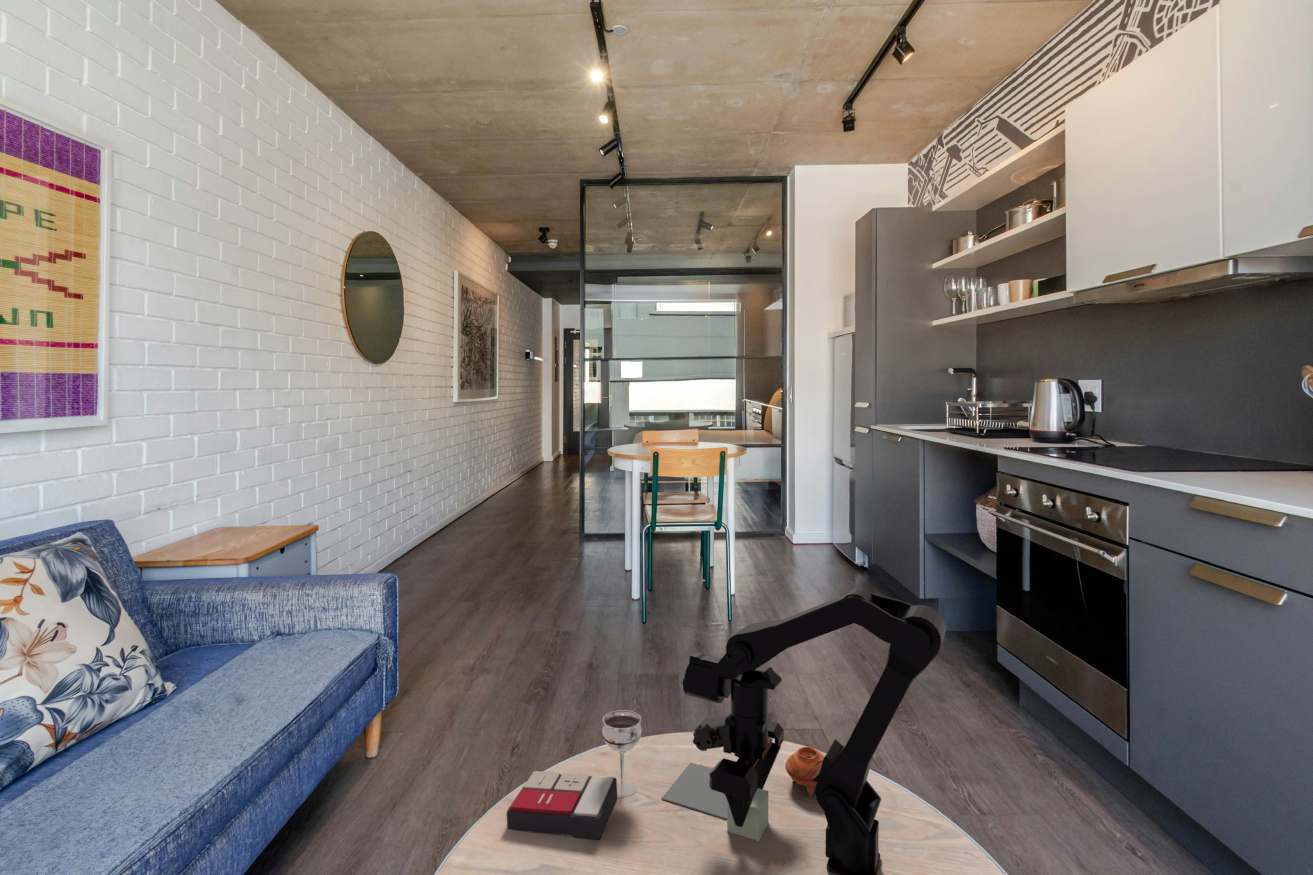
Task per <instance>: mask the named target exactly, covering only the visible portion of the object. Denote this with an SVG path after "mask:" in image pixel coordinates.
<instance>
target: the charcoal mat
mask: <svg viewBox="0 0 1313 875" xmlns="http://www.w3.org/2000/svg"><path fill="white" fill-rule="evenodd" d="M713 769H714V767H713V768H711V767H709V766H705V765H701V764H697V763H695V762H694V763H693V762H689V764H688V765H687V766H686V767H685V768H684V769H683V771H682V773H680V774H679V776H678V777H677V778H676V780H675V781H674V782H673V783H672V784H671V786H670V787H669V789H667V791H666V792H665V793H664V794H663V795H662V797H661V800H664V801H666V802H668V803H672V804H676V805H679V806H682V807H685V808H688V809H692V810H695V811H698V812H702V813H704V814H707V815H711V816H715V817H717V818H721V819H724V820H727V798H726V796H725V795H724V794H723V793H721V792H718V791H715V790H711V788H710V787H709V774H710V773H711V771H712V770H713Z"/></svg>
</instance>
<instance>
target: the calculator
mask: <svg viewBox="0 0 1313 875" xmlns="http://www.w3.org/2000/svg"><path fill="white" fill-rule="evenodd" d="M545 772H546V773H545ZM526 780H527V781H526V782H525V784H524V785H523V787H521V789H520V790H519V792H518V794H517V796H516V797H515V798H514V799H513V801H512V803H511V804H510V806H509V807H508V809H507V811H506V824H507V825H506V826H507V829H508V830H513V831H514V830H515V831H520V832H528V833H536V834H547V835H561V836H571V837H572V838H574V839H582V840H589V841H596V842H597V841H598V842H599V841H601V840H602V838H603V837H604V836H603V835H604V833H605V830H606V828H607V825H608V823H609V821H610V818H611V816H612V813H613V811H614V808H615V806H616V803H617V800H618V797H617V777H613V776H605V775H601V776H600V775H590V774H588V773H573V772H571V773H570V772H563V773H561V774H560V772H555V771H554V772H553V771H540V770H538V771H537V770H534V771H533V772H532V773H531V775H530V776H529V777H528V779H526ZM532 780H533V781H532Z"/></svg>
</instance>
